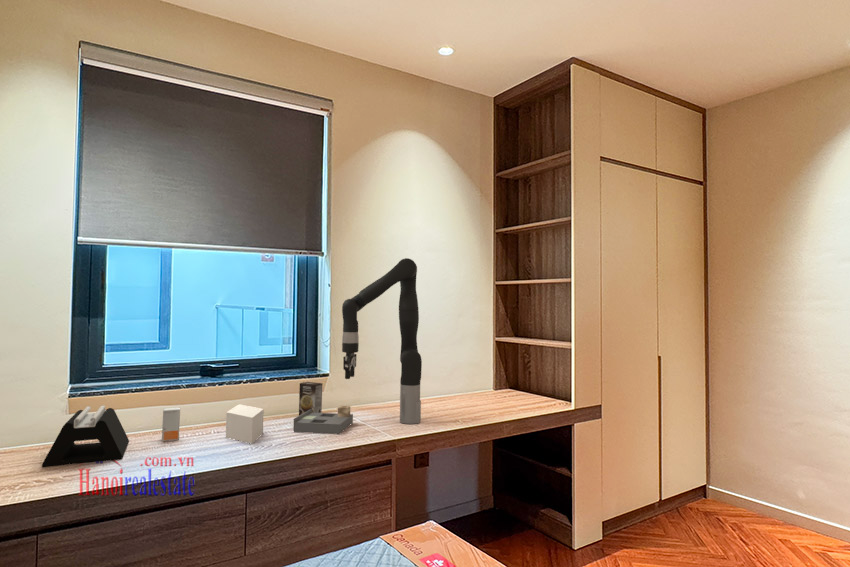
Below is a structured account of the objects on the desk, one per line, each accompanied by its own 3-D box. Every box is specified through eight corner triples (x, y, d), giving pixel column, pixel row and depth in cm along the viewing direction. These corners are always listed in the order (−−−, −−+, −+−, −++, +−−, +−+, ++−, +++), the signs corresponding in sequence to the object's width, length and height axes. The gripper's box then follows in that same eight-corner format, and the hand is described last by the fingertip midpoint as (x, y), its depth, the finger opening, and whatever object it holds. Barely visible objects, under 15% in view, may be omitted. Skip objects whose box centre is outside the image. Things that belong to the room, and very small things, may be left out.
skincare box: (161, 441, 195) (162, 410, 196) (161, 439, 199) (162, 408, 200) (179, 440, 198) (180, 409, 199) (179, 437, 202) (180, 407, 202)
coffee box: (298, 417, 240) (298, 383, 240) (306, 414, 246) (306, 381, 246) (314, 419, 236) (315, 384, 237) (322, 416, 242) (322, 382, 243)
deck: (352, 423, 230) (353, 410, 230) (339, 434, 210) (339, 420, 210) (310, 421, 233) (310, 409, 233) (293, 431, 213) (293, 418, 213)
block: (350, 414, 229) (350, 406, 229) (347, 417, 224) (347, 407, 224) (340, 414, 229) (340, 405, 229) (337, 416, 225) (337, 407, 225)
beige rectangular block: (231, 447, 190) (232, 419, 190) (220, 430, 215) (221, 405, 216) (271, 442, 197) (271, 415, 198) (255, 426, 222) (256, 402, 223)
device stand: (41, 468, 164) (43, 421, 164) (57, 449, 184) (59, 408, 185) (122, 460, 173) (124, 415, 174) (128, 443, 194) (130, 403, 194)
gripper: (354, 343, 228) (353, 380, 228) (362, 340, 243) (361, 375, 242) (338, 342, 229) (337, 379, 229) (346, 340, 244) (346, 375, 243)
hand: (349, 377), depth 235 cm, fingers open, 7 cm apart
